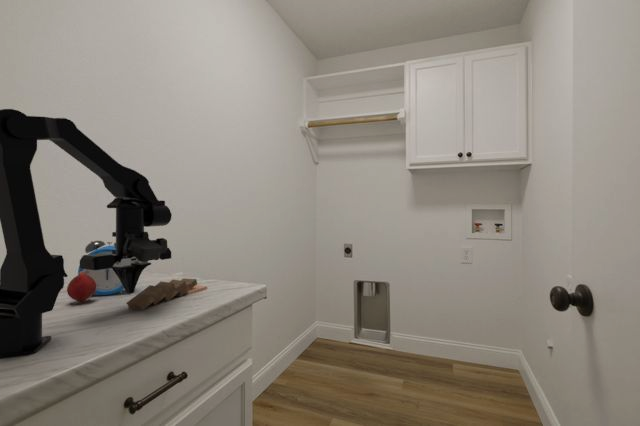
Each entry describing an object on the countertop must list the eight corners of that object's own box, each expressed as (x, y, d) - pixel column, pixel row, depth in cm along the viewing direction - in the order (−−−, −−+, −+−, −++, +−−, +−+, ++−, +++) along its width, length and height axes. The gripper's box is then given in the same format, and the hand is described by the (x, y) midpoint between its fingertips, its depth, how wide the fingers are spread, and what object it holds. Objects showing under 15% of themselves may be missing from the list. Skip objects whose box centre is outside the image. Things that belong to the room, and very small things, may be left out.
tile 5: (188, 291, 86) (207, 286, 92) (177, 290, 88) (195, 284, 94) (188, 297, 86) (207, 291, 92) (177, 295, 88) (195, 290, 94)
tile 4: (179, 291, 84) (196, 279, 90) (166, 290, 85) (183, 278, 91) (180, 296, 84) (197, 284, 90) (167, 295, 85) (184, 283, 92)
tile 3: (165, 296, 79) (184, 281, 85) (152, 294, 81) (172, 279, 87) (167, 301, 80) (186, 285, 85) (154, 299, 81) (174, 284, 87)
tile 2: (152, 300, 76) (173, 283, 81) (139, 297, 77) (160, 281, 83) (154, 305, 76) (175, 287, 82) (141, 302, 78) (162, 286, 84)
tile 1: (139, 305, 72) (162, 287, 77) (126, 302, 73) (149, 285, 79) (142, 310, 72) (164, 292, 78) (129, 307, 74) (152, 290, 80)
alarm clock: (77, 298, 82) (77, 242, 82) (85, 292, 88) (86, 239, 88) (133, 294, 86) (133, 240, 86) (138, 288, 92) (138, 238, 92)
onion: (80, 306, 75) (80, 273, 75) (60, 305, 76) (61, 272, 76) (101, 300, 80) (101, 269, 80) (83, 298, 82) (83, 268, 82)
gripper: (110, 231, 61) (110, 309, 61) (186, 227, 78) (186, 288, 78) (78, 229, 66) (78, 302, 66) (156, 225, 83) (156, 283, 83)
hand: (130, 293), depth 73 cm, fingers closed
